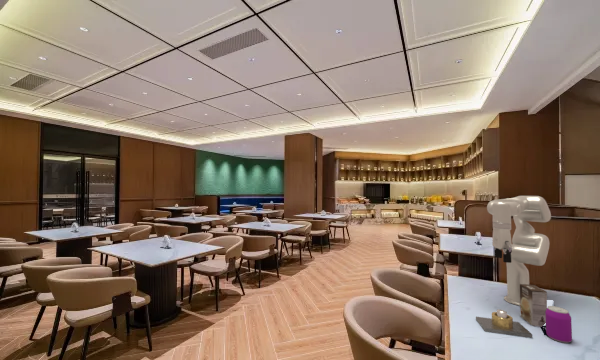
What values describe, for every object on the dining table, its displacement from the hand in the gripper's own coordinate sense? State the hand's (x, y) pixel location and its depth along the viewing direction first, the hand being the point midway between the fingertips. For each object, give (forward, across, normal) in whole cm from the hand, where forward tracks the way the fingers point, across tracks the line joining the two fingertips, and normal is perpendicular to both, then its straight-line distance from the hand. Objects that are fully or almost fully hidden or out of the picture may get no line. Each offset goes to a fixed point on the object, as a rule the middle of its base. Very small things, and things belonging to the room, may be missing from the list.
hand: (502, 260), depth 133 cm
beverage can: (+26, +21, +11) cm, 36 cm away
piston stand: (+26, +18, -8) cm, 33 cm away
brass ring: (+25, +18, -8) cm, 32 cm away
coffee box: (+26, +7, +9) cm, 29 cm away
